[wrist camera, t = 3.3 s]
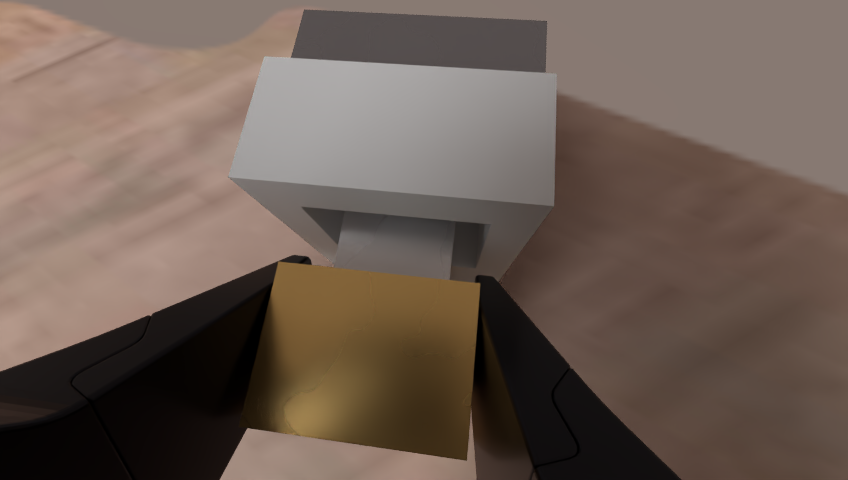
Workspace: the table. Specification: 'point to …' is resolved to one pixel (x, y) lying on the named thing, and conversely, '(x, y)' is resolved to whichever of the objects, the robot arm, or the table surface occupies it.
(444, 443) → the shaft
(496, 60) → the block
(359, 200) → the block
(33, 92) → the table surface
